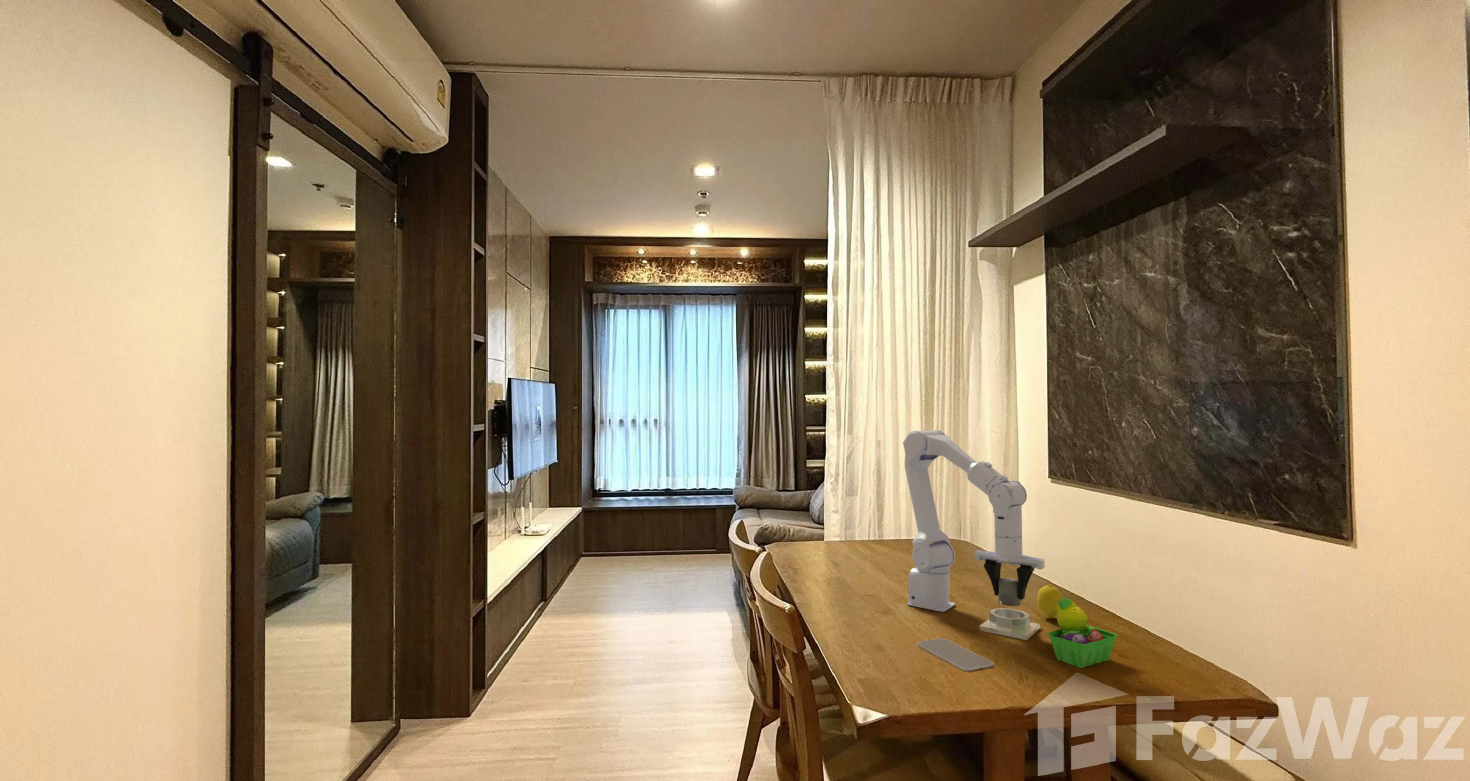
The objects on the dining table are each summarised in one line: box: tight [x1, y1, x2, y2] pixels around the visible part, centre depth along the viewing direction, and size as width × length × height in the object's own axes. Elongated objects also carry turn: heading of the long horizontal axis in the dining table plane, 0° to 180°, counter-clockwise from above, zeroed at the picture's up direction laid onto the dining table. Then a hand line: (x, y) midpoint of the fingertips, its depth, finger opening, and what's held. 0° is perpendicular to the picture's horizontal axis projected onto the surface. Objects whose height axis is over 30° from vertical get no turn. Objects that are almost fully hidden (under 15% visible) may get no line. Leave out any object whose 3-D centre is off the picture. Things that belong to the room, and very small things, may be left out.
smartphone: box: [916, 638, 994, 672], centre depth 129 cm, size 7×1×15 cm
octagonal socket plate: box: [979, 607, 1041, 641], centre depth 144 cm, size 10×10×4 cm
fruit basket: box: [1047, 597, 1118, 669], centre depth 127 cm, size 11×9×11 cm
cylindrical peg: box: [997, 577, 1022, 607], centre depth 145 cm, size 5×5×5 cm
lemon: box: [1036, 583, 1063, 619], centre depth 152 cm, size 6×6×8 cm
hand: (1009, 596), depth 145 cm, fingers closed on cylindrical peg, 5 cm apart
